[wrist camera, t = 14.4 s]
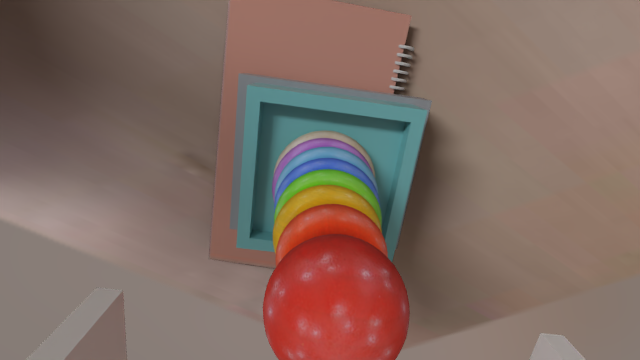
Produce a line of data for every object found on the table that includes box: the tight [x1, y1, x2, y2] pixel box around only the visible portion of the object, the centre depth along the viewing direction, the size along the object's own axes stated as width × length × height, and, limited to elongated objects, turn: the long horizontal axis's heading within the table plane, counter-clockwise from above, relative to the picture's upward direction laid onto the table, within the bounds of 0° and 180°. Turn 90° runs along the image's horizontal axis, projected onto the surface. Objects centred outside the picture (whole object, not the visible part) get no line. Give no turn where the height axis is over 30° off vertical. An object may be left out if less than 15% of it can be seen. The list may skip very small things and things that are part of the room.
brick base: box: [230, 73, 432, 262], centre depth 29 cm, size 16×14×7 cm
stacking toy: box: [263, 130, 410, 360], centre depth 19 cm, size 8×8×19 cm
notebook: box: [209, 0, 414, 268], centre depth 34 cm, size 27×17×2 cm, turn 170°
